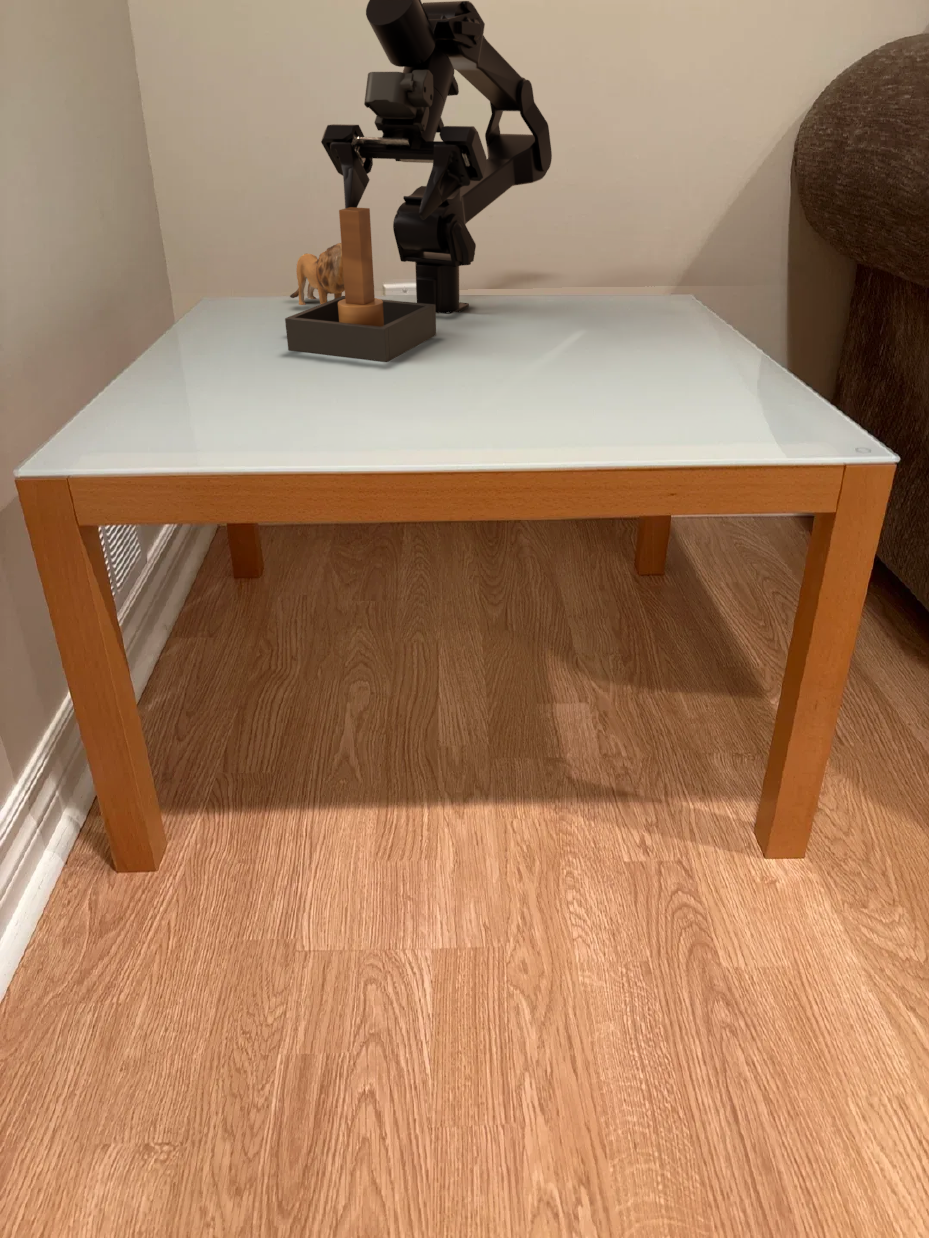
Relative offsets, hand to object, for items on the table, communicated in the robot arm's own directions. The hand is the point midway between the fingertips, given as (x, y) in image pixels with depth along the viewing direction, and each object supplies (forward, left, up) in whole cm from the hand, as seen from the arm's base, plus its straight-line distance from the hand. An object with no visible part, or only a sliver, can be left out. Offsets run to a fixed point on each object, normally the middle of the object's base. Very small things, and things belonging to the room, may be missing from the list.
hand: (384, 215), depth 104 cm
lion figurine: (-9, -15, -14) cm, 22 cm away
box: (+5, 0, -14) cm, 15 cm away
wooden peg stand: (+7, +1, -13) cm, 15 cm away
